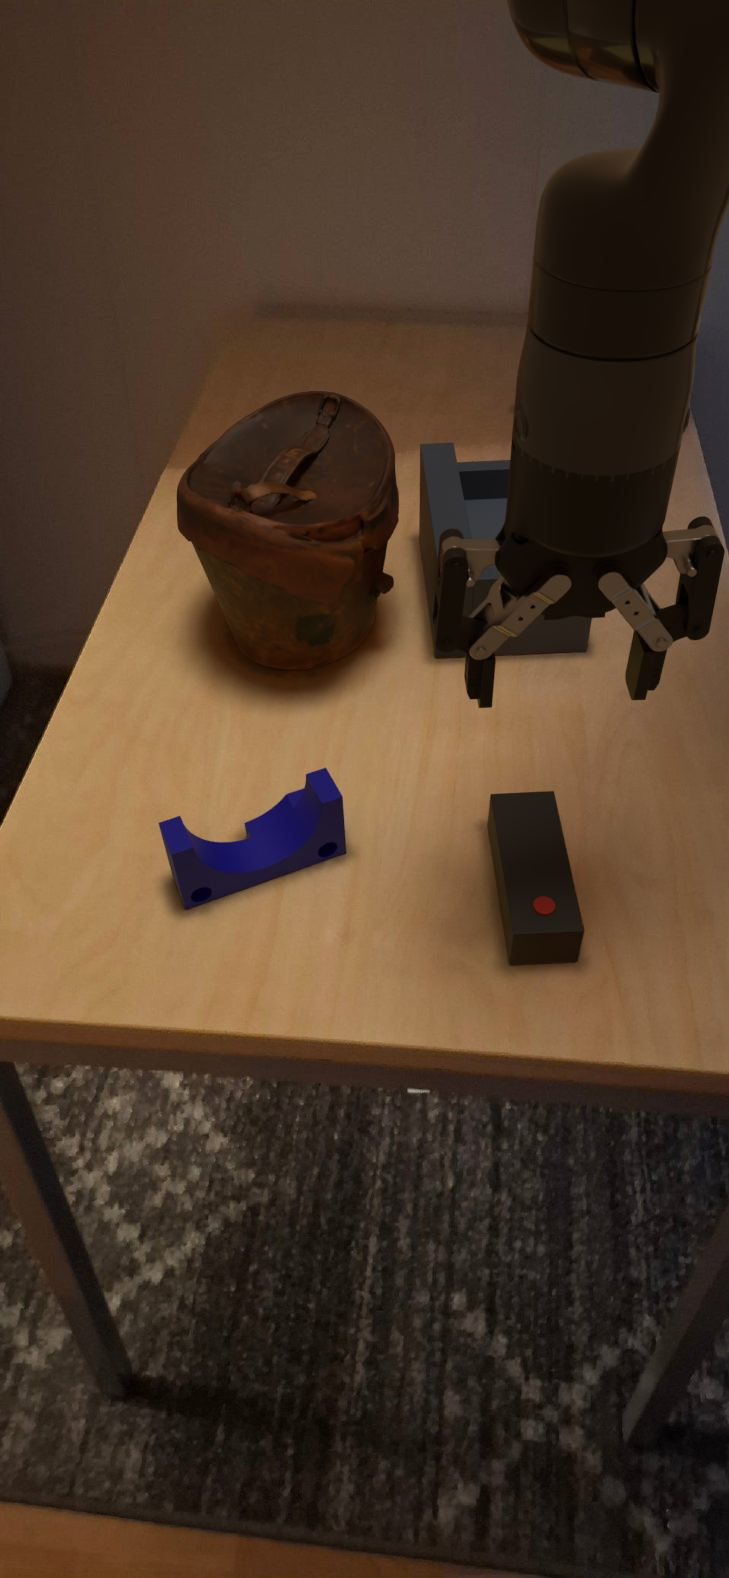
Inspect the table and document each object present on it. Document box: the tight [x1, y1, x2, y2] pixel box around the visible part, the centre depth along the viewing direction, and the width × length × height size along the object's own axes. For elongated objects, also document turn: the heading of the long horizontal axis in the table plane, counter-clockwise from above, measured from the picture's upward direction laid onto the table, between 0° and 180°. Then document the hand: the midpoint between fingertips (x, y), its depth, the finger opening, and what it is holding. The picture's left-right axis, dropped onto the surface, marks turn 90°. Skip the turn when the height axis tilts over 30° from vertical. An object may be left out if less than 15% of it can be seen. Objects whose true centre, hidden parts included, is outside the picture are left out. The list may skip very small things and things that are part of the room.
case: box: [176, 390, 400, 670], centre depth 86 cm, size 18×20×18 cm
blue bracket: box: [158, 767, 347, 911], centre depth 72 cm, size 12×4×6 cm, turn 114°
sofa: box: [418, 442, 593, 659], centre depth 91 cm, size 13×18×10 cm
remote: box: [487, 790, 585, 966], centre depth 71 cm, size 4×12×4 cm, turn 2°
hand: (558, 694), depth 59 cm, fingers open, 8 cm apart
